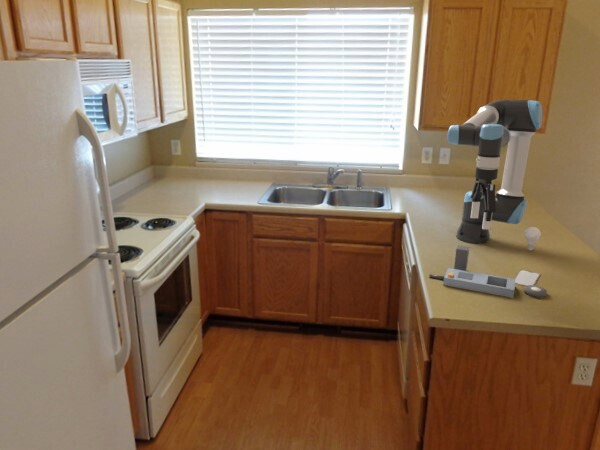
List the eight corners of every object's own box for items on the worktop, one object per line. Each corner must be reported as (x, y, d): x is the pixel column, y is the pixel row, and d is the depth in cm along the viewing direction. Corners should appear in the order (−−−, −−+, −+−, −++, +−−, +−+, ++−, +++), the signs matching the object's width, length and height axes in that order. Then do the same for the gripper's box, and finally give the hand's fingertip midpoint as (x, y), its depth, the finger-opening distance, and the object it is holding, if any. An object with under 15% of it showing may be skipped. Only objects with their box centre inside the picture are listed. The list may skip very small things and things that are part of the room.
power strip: (431, 272, 184) (432, 263, 183) (514, 286, 172) (515, 277, 171) (427, 281, 175) (427, 272, 174) (513, 297, 163) (514, 287, 162)
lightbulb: (518, 249, 209) (522, 225, 206) (529, 247, 211) (532, 224, 208) (530, 253, 203) (534, 230, 200) (540, 251, 206) (545, 228, 202)
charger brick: (454, 268, 188) (457, 245, 185) (466, 270, 186) (469, 247, 183) (452, 272, 184) (455, 248, 181) (465, 274, 182) (468, 250, 179)
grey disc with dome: (524, 288, 171) (525, 283, 170) (545, 291, 168) (546, 287, 167) (524, 295, 165) (525, 291, 164) (546, 299, 162) (547, 294, 161)
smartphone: (511, 282, 175) (520, 269, 186) (511, 283, 175) (520, 270, 187) (532, 287, 171) (540, 273, 182) (532, 289, 171) (540, 275, 182)
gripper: (466, 161, 180) (460, 213, 187) (488, 174, 156) (480, 233, 163) (486, 161, 180) (479, 214, 186) (511, 174, 156) (502, 234, 163)
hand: (479, 223), depth 175 cm, fingers open, 13 cm apart
